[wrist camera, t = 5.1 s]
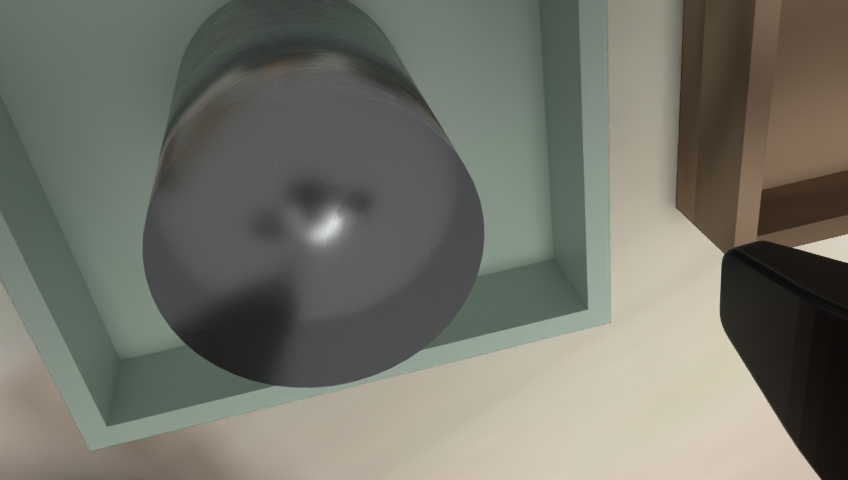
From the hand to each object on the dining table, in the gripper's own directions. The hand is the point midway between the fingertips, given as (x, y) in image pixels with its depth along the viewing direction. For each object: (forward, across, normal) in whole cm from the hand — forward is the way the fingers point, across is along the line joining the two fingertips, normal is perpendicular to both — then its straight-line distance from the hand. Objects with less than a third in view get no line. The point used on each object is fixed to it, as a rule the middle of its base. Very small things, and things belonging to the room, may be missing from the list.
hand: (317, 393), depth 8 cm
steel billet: (+11, 0, +1) cm, 11 cm away
